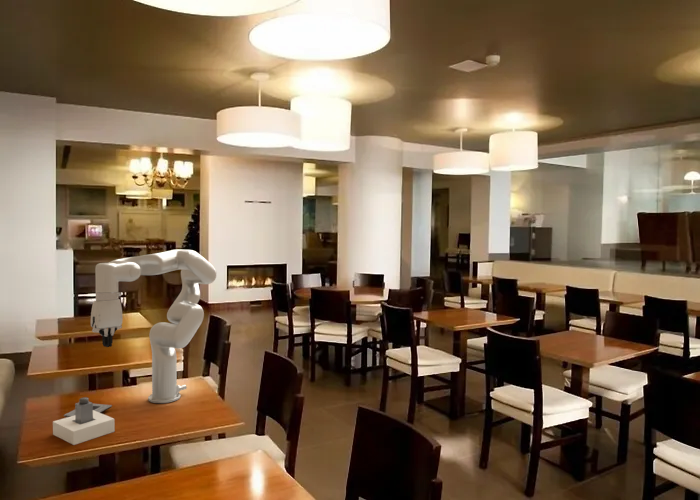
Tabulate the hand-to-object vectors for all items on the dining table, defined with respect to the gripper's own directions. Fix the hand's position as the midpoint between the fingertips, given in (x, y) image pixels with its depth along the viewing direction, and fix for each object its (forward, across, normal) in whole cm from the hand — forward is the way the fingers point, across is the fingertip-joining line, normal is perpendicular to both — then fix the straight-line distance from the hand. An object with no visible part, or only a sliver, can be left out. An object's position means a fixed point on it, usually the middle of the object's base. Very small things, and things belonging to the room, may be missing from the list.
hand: (107, 346), depth 191 cm
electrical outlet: (+28, +2, -10) cm, 30 cm away
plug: (+27, +12, +6) cm, 30 cm away
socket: (+27, +12, +6) cm, 30 cm away
